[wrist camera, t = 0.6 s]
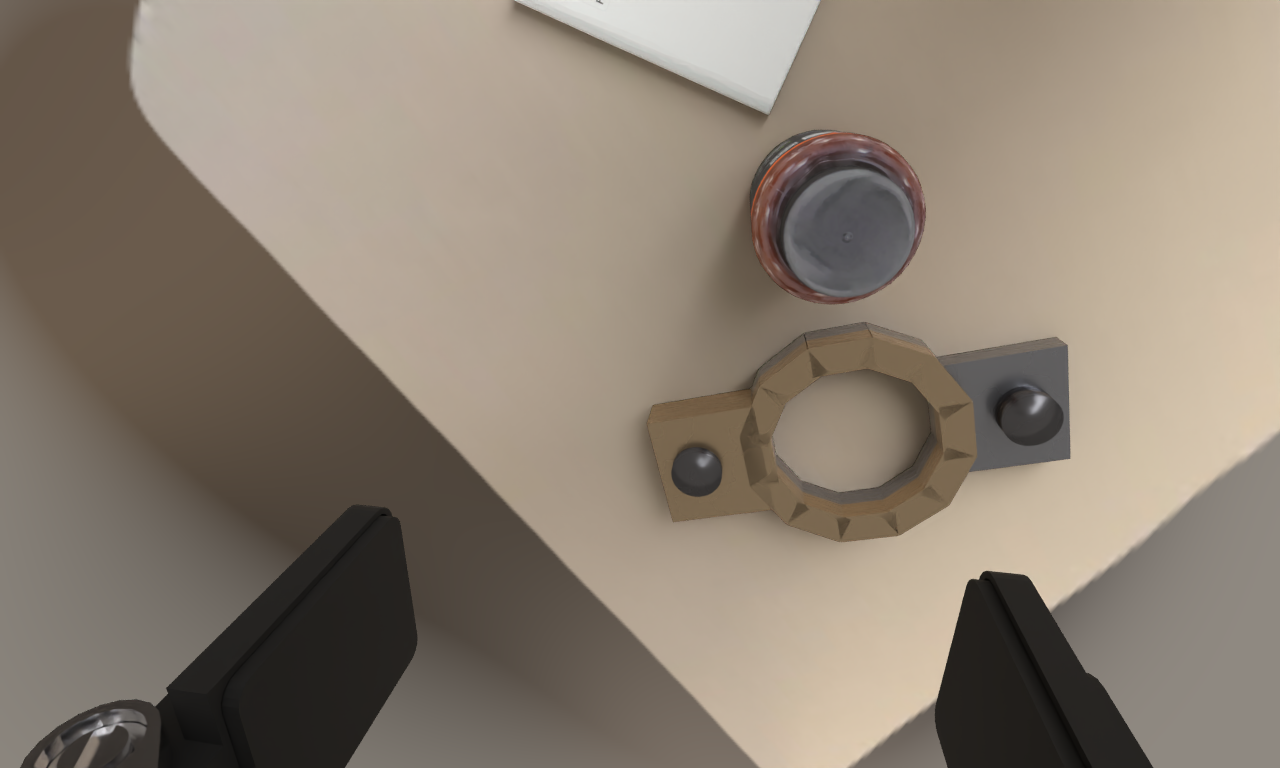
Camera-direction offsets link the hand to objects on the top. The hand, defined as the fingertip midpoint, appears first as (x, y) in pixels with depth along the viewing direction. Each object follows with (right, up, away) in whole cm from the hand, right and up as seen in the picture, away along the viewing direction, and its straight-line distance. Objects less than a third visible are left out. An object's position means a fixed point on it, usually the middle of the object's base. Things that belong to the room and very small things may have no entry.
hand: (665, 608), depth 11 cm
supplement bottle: (+8, +13, +20) cm, 25 cm away
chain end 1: (+8, +1, +24) cm, 26 cm away
